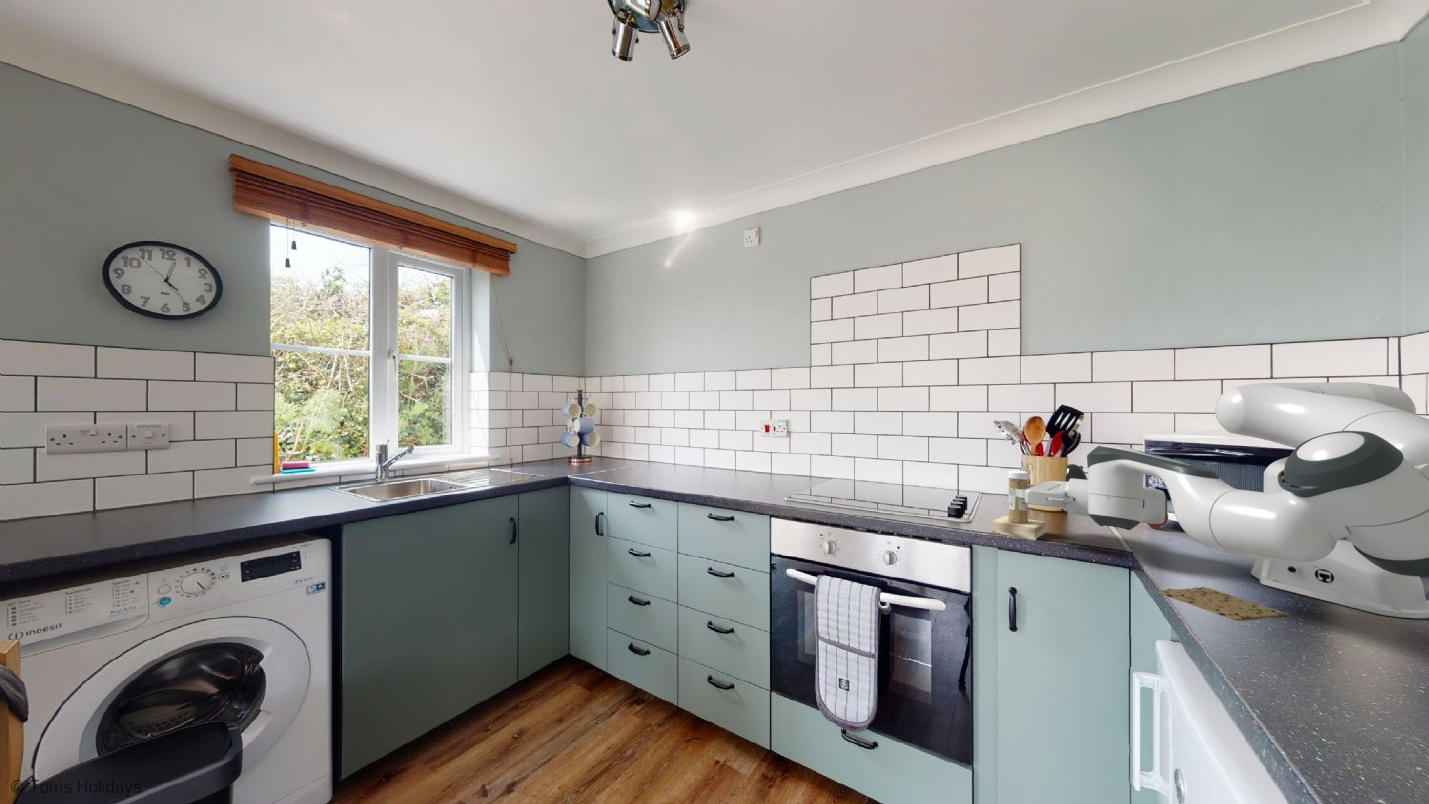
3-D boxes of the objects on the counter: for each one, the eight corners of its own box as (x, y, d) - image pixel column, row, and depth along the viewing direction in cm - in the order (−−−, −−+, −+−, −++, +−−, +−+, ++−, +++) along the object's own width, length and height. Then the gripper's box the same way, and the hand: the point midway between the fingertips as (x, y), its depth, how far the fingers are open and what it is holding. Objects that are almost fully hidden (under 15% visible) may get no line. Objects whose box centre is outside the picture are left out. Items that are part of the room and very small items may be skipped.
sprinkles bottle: (1029, 524, 127) (1029, 472, 127) (1008, 522, 129) (1009, 471, 129) (1026, 520, 131) (1027, 470, 131) (1007, 518, 133) (1007, 469, 133)
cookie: (1294, 618, 80) (1294, 612, 80) (1236, 623, 78) (1236, 617, 78) (1207, 590, 92) (1207, 585, 92) (1155, 594, 89) (1155, 589, 89)
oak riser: (1045, 533, 130) (1045, 522, 130) (1035, 540, 123) (1035, 528, 123) (1003, 526, 137) (1003, 515, 137) (991, 532, 130) (991, 521, 130)
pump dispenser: (1099, 513, 155) (1100, 465, 155) (1080, 516, 150) (1081, 466, 150) (1064, 506, 164) (1065, 461, 164) (1046, 509, 159) (1046, 463, 159)
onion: (1156, 526, 138) (1157, 498, 138) (1173, 531, 133) (1174, 502, 133) (1134, 525, 139) (1134, 497, 139) (1150, 530, 133) (1150, 501, 133)
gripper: (1068, 516, 113) (1002, 506, 123) (1086, 504, 127) (1025, 496, 137) (1068, 489, 113) (1002, 481, 123) (1086, 480, 127) (1025, 473, 137)
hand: (1014, 489), depth 130 cm, fingers open, 8 cm apart
